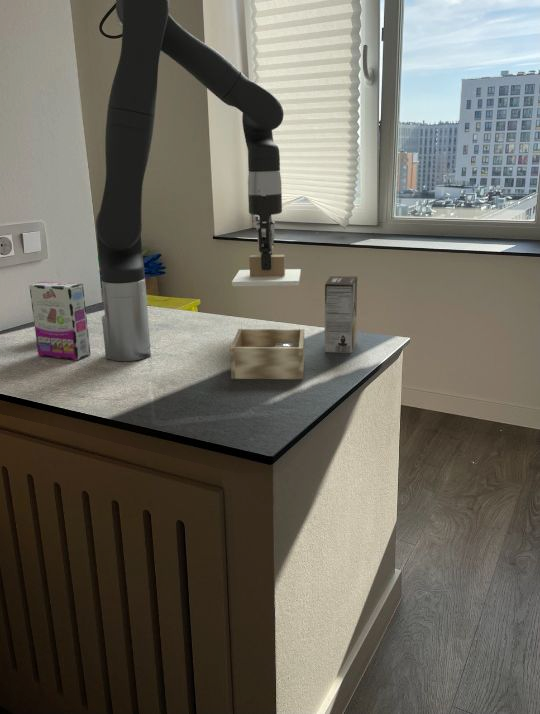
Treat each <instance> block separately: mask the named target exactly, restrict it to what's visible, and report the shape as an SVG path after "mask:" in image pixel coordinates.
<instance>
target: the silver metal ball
mask: <svg viewBox="0 0 540 714" xmlns="http://www.w3.org/2000/svg"><path fill="white" fill-rule="evenodd" d="M275 347H294V343H291V342H279V343H276V344H275Z"/></svg>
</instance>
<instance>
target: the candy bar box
mask: <svg viewBox="0 0 540 714" xmlns="http://www.w3.org/2000/svg"><path fill="white" fill-rule="evenodd" d="M28 287H29V294H30V301H31V308H32V317H33V324H34V325H33V326H34V330H35V332H34V333H35V338H36V339H35V340H36V345H37V346H36V347H37V353H38V357H42V358H43V357H45V358H52V359H61V360H71V361H79V360H82V359H84V358H86V357H89V356H90V355H91V346H90V345H91V344H90V338H89V328H88V326H89V325H88V319H87V310H86V309H87V308H86V301H85V300H86V299H85V292H84V291H85V289H84V283H78V282H77V283H75V282H58V281H57V282H56V281H40V282H36V283H32V284H29V285H28Z"/></svg>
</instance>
